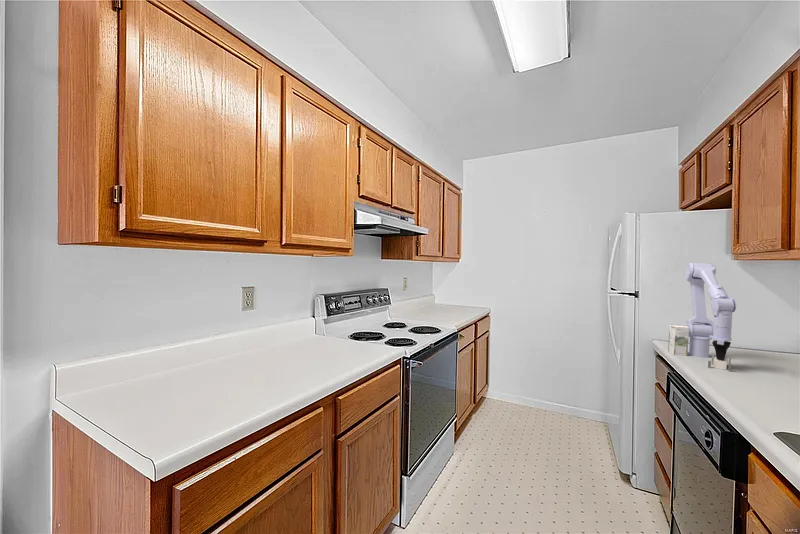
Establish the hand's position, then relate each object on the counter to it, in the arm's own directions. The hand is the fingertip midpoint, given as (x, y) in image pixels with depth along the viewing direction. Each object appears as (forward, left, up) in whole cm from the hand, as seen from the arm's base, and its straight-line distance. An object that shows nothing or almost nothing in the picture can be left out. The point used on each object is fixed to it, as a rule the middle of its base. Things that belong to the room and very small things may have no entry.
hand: (720, 359), depth 155 cm
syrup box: (-12, -16, -4) cm, 20 cm away
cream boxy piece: (-4, 0, -4) cm, 5 cm away
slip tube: (-1, 0, -3) cm, 3 cm away
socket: (+5, 0, -4) cm, 6 cm away
